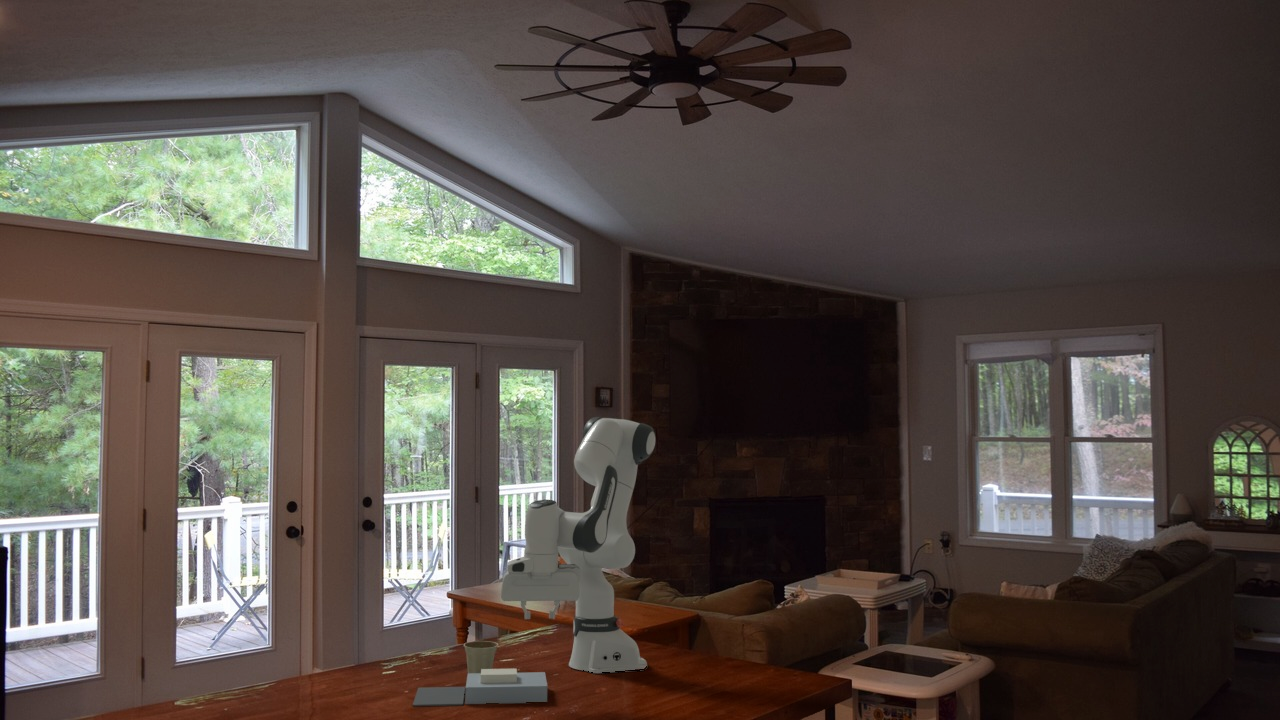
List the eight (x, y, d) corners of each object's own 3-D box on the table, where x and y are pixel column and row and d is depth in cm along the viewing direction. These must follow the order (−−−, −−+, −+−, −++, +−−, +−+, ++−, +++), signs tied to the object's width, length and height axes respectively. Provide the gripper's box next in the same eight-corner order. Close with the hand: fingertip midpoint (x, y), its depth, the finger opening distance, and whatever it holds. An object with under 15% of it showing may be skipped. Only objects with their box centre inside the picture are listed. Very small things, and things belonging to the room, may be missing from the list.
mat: (465, 688, 252) (465, 686, 252) (462, 705, 236) (462, 703, 236) (418, 689, 250) (418, 687, 250) (412, 706, 234) (412, 704, 234)
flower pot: (503, 674, 267) (504, 642, 268) (487, 682, 258) (488, 649, 259) (473, 671, 270) (474, 639, 271) (456, 678, 261) (457, 646, 262)
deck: (544, 687, 253) (545, 672, 254) (547, 702, 240) (547, 686, 240) (467, 689, 251) (467, 673, 251) (465, 704, 237) (465, 687, 237)
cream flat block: (516, 676, 249) (516, 668, 249) (516, 682, 243) (516, 674, 243) (481, 677, 248) (481, 669, 248) (480, 683, 242) (480, 674, 242)
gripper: (580, 562, 253) (579, 615, 252) (501, 562, 251) (500, 616, 250) (582, 565, 247) (581, 620, 246) (501, 565, 244) (500, 621, 243)
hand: (539, 618), depth 248 cm, fingers open, 5 cm apart
